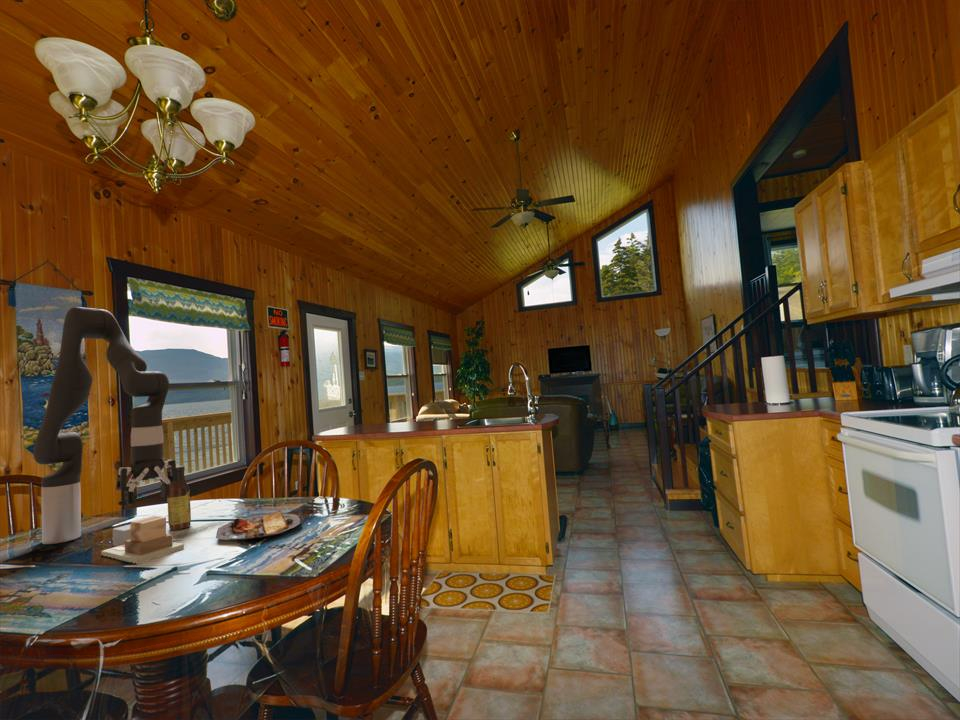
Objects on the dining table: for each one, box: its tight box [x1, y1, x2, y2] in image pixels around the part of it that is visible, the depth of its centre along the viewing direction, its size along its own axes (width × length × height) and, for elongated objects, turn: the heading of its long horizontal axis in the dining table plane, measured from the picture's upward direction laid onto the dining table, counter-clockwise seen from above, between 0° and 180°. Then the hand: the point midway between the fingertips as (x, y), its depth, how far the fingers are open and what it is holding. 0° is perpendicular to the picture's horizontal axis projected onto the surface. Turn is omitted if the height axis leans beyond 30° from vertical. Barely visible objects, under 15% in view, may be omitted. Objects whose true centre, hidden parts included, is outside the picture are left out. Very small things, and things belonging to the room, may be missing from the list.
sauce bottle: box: [166, 465, 192, 531], centre depth 155 cm, size 7×6×20 cm
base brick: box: [125, 533, 173, 555], centre depth 131 cm, size 8×8×3 cm
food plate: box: [215, 509, 301, 541], centre depth 147 cm, size 25×23×4 cm
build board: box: [100, 541, 185, 565], centre depth 132 cm, size 18×12×1 cm, turn 62°
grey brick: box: [112, 524, 131, 547], centre depth 141 cm, size 6×6×5 cm
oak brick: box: [129, 515, 167, 542], centre depth 131 cm, size 6×6×5 cm
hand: (147, 501), depth 132 cm, fingers open, 8 cm apart
